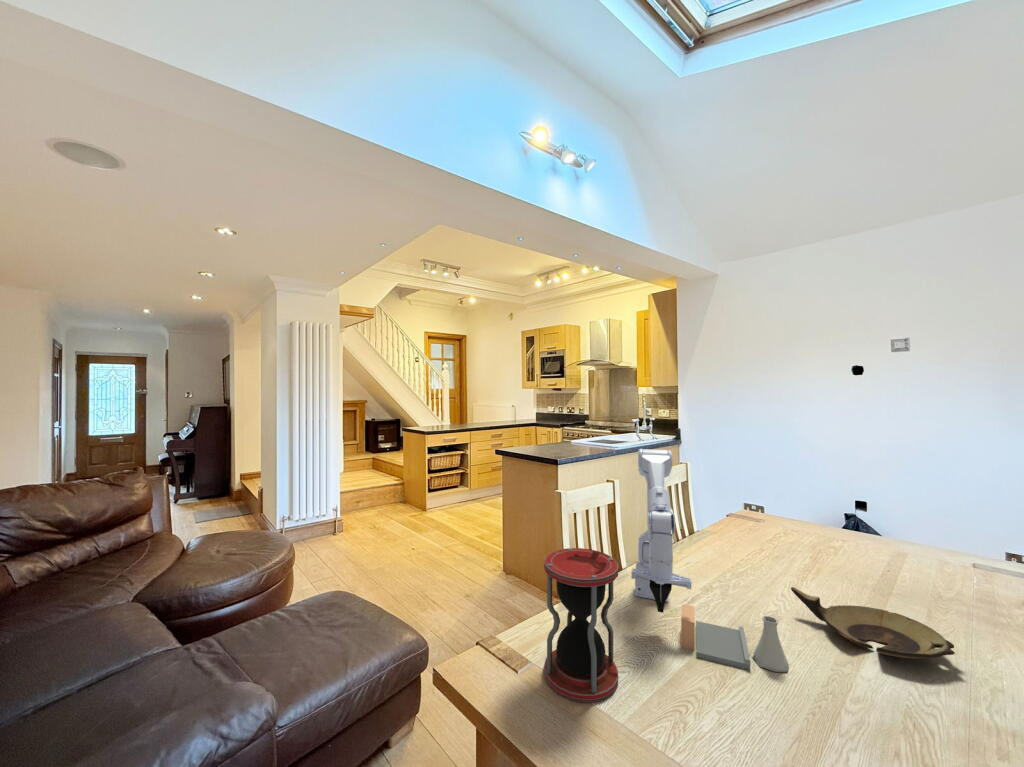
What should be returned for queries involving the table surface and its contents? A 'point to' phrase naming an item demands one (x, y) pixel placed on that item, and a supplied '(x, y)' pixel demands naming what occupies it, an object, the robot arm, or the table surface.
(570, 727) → the table surface
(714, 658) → the grey tray
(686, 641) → the slab
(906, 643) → the oil lamp
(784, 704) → the table surface
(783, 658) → the flask
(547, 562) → the hourglass
